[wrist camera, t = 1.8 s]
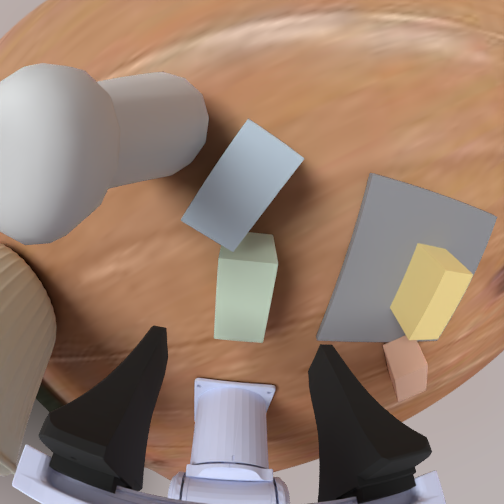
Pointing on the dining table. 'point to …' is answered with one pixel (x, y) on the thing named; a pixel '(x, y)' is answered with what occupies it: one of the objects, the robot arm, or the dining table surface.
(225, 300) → the green brick
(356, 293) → the felt mat
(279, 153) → the slate brick
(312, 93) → the dining table surface
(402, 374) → the terracotta brick
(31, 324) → the canister
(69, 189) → the salt shaker
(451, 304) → the mustard brick
